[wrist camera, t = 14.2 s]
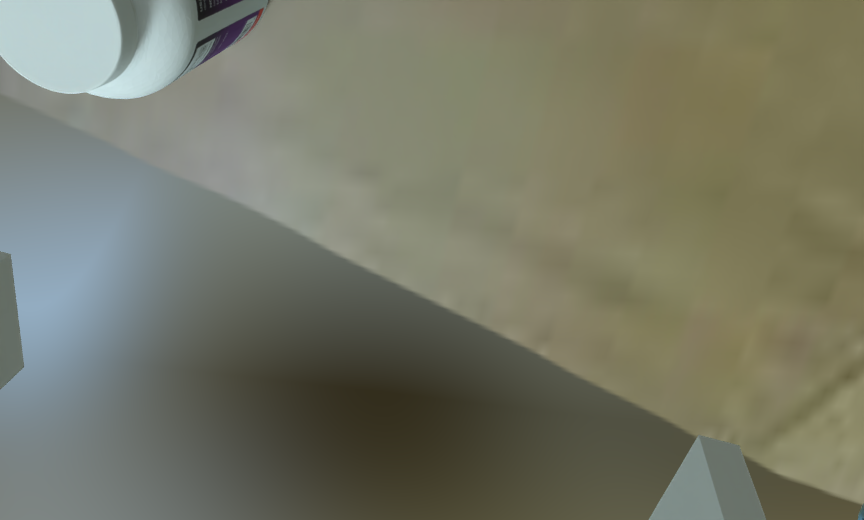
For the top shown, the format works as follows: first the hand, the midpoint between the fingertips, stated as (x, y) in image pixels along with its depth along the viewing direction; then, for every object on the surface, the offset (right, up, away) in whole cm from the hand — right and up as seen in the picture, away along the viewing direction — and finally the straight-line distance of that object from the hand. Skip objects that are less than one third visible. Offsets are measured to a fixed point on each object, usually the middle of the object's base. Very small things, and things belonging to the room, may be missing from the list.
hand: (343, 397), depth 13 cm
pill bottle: (-11, +19, +24) cm, 33 cm away
